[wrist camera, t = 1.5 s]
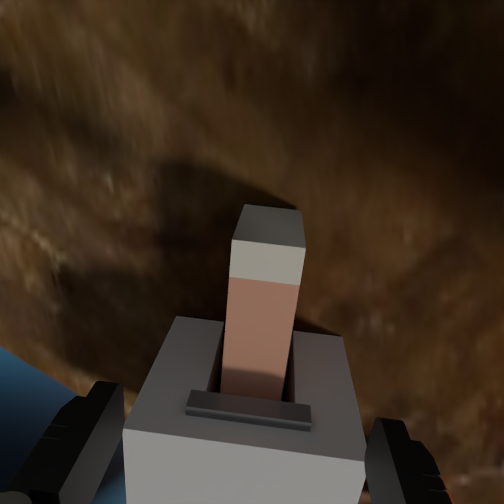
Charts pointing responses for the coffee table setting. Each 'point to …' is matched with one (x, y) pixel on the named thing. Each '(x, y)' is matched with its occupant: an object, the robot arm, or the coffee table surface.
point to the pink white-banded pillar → (262, 300)
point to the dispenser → (244, 428)
